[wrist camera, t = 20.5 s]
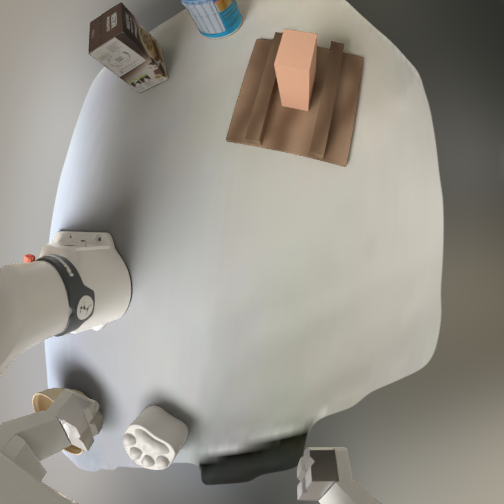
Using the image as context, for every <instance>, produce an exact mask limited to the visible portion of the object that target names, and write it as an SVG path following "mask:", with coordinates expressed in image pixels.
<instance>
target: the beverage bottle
mask: <svg viewBox="0 0 504 504" xmlns="http://www.w3.org/2000/svg"><path fill="white" fill-rule="evenodd" d="M180 1H181V3H182V4H183V5H184V6H185V7H186V8H187V10H188V12H189V13H190V15H191V16H192V18H193V20H194V21H195V23H196V25H197V27H198V29H199V31H200V33H201V34H202V35H203V36H205V37H207V38H211V39H219V38H224V37H227V36H229V35H231V34H233V33H234V32H236V31H237V30H238V29H239V27H240V26H241V23H242V17H241V15H240V12H239V10H238V7H237V4H236V1H235V0H180Z"/></svg>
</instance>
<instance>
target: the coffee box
mask: <svg viewBox="0 0 504 504" xmlns="http://www.w3.org/2000/svg"><path fill="white" fill-rule="evenodd" d="M89 54H90V55H91V56H92V57H94V58H95V59H96V60H98V61H99V62H100V63H102V64H103V65H104V66H105V67H107V68H108V69H109V70H111V71H112V72H113V73H115V74H116V75H117V76H118V77H120V78H121V79H122V80H124V81H125V82H126V83H128V84H129V85H130V86H131V87H133V88H134V89H135V90H136V91H138V92H139V93H141V92H143V91H145V90H147V89H149V88H151V87H153V86H155V85H157V84H159V83H161V82H164V81H166V80H167V79H168V75H167V70H166V66H165V60H164V55H163V50H162V47H161V46H160V45H159V44H158V42H157V41H156V40H155V39H154V38H153V37H152V36H151V34H150V33H149V32H148V31H147V30H146V29H145V28H144V27H143V26H142V24H140V22H139V21H138V20H137V19H136V18H135V17H134V16H133V15H132V13H131V12H130V11H129V10H128V9H127V8H126V7H125V6H124V5H123V4H122V3H119V4H118V5H116V6H114V7H113V8H111V9H110V10H108V11H107V12H105V13H104V14H102V15H101V16H99V17H98V18H96V19H95V20H94V21H92V22H91V23H90V36H89Z"/></svg>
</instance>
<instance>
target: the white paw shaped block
mask: <svg viewBox="0 0 504 504" xmlns="http://www.w3.org/2000/svg"><path fill="white" fill-rule="evenodd" d="M188 434H189V430H188V427H187V426H186V424H185V423H184V422H182V421H181V420H179V419H177V418H175V417H173V416H171V415H170V414H168V413H167V412H166V411H165V410H163V409H162V408H160V407H159V406H155V405H151V406H148V407H147V408H146V409H145V410H144V411H143V412H142V413H141V414H140V415H139V416H138V417H137V418H136V419H135V420H134V422H133V423H132V424H131V425H130V426H129V427H128V428H127V430H126V431H125V434H124V436H123V443H124V447H125V449H126V452H127V453H128V455H129V456H130V457H131V459H132V460H133V461H134V462H135V463H137V464H138V465H140V466H142V467H145V468H148V469H152V470H161V469H165V468H167V467H168V466H169V465H170V464H171V463H172V462H173V460H174V459H175V457H176V455H177V454H178V452H179V451H180V449H181V447H182V446H183V444H184V442H185V441H186V439H187V437H188Z"/></svg>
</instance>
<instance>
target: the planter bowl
mask: <svg viewBox="0 0 504 504" xmlns="http://www.w3.org/2000/svg"><path fill="white" fill-rule="evenodd" d="M63 390H64V388H52V389H47V390H45V391H42V392H39V393H36V394H35V395H34V396H33V400H32V403H33V409H34V412H35V413H36V412H39V411H42V410H44V411H46V410H47V409H48V408H49V407H50V405H51V404H52V403H53V402H54V401H55V399H56V398H57V397H58V396H59V395H60V393H61V392H62V391H63ZM72 391H74V392H76V393H78V394H80V395H82V396H85V397H87V396H86V395H85V394H84V393H82V392H81V391H79V390H76V389H72ZM87 398H88V397H87ZM64 450H65V451H67V452H69V453H71V454H74V455H79V454H81V453H82V452H83V451H84V450H83V449H81V448H79V447H76V446H74V445H72V444H71V445H70V446H68V447H67V448H65V449H64Z"/></svg>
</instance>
